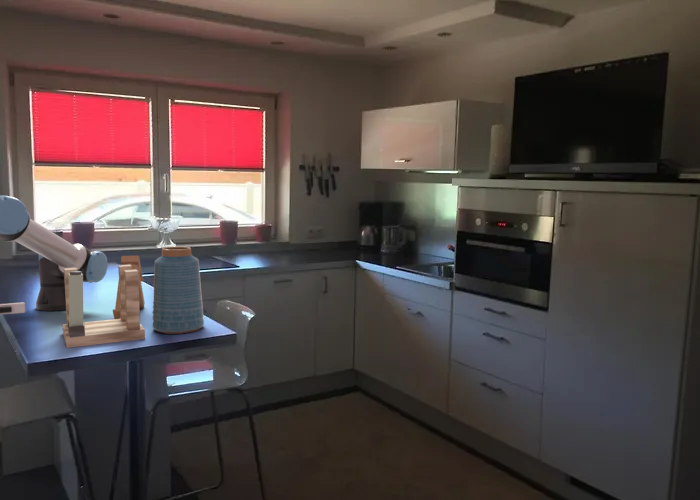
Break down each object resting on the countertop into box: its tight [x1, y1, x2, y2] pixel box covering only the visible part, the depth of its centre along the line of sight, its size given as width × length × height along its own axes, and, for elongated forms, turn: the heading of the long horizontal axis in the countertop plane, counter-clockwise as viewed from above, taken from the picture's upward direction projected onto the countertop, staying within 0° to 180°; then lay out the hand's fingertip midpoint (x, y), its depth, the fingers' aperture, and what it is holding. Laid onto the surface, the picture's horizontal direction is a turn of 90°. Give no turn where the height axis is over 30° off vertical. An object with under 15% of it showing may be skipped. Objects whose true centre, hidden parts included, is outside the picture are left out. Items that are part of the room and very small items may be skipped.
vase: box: [152, 246, 205, 335], centre depth 198 cm, size 16×16×27 cm
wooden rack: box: [62, 264, 146, 349], centre depth 189 cm, size 18×22×21 cm
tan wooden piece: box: [112, 255, 145, 319], centre depth 218 cm, size 7×23×25 cm
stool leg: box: [69, 271, 84, 327], centre depth 179 cm, size 4×4×17 cm
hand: (24, 307), depth 173 cm, fingers closed
